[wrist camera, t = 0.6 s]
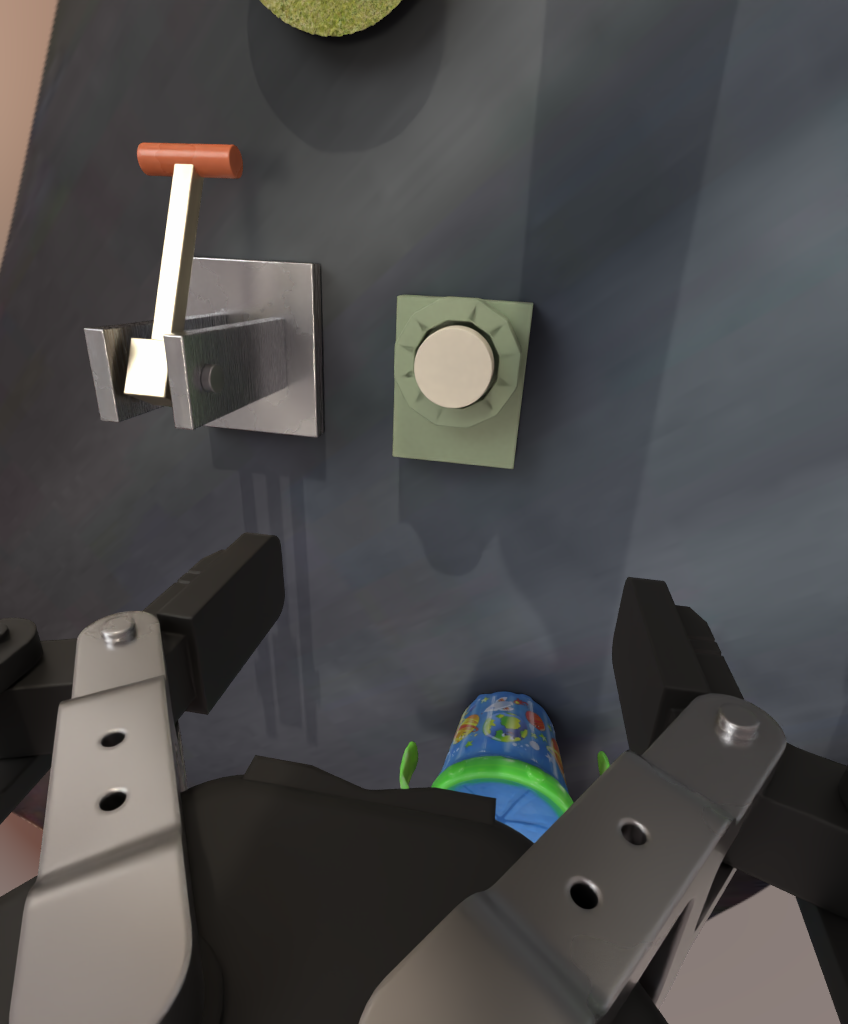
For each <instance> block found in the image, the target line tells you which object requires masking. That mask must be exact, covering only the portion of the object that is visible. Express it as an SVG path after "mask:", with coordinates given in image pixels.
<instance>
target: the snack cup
mask: <svg viewBox="0 0 848 1024" xmlns="http://www.w3.org/2000/svg"><path fill="white" fill-rule="evenodd" d="M417 762H418V751H417V746H416V743H415V742H410V743H409V745H408V746H407V747H406V749H405V752H404V754H403V758H402V762H401V768H400V786H401V789H407V788H409V786H408V784H409V782H410V779H411V776H412V774H413V772H414V770H415V768H416V766H417ZM609 766H610V764H609V761H608V758H607V756H606V754H605V753H604V752H603V751H600V752H599V753H598V767H599V772H600V776H601V775H602V774H603V773H604V772H605V771H606V770H607V769H608V767H609ZM431 787H436V788H441V789H447V790H452V791H458V792H464V793H469V794H475V795H480V796H486V797H492V798H496V811H495V820H497V821H499V822H501V823H504V824H506V825H508V826H509V827H511V828H513V829H515V830H516V831H518V832H520V833H521V834H523V835H524V836H525V837H527V838H528V839H529V840H531V841H532V842H533V843H535V842H536V841H537V840H538V839H539V838H540V837H541V836H542V835H543V834H544V833H545V832H546V831H547V830H548V829H549V828H550V827H551V826H552V825H553V824H554V823H555V822H556V821H557V820H558V819H559V818H560V817H561V816H562V815H563V814H564V812H565V811H566V810H567V809H568V808H569V807H570V806H571V805H572V804H573V803H574V802H573V801H572V799H571V797H570V796H569V793H568V789H567V784H566V780H565V776H564V771H563V766H562V761H561V757H560V753H559V748H558V745H557V742H556V738H555V731H554V727H553V725H552V723H551V721H550V718H549V717H548V715H547V713H546V712H545V710H544V709H543V708H542V707H541V706H540V705H539V704H537V703H536V702H534V701H533V700H532V698H531V697H530V696H527V695H525V694H515V693H513V692H507V691H504V692H495V693H492V694H480V695H479V696H478V697H477V698H476V699H475V701H474V702H473V703H472V704H470V705H469V706H468V708H467V709H466V710H465V712H464V713H463V715H462V718H461V720H460V723H459V726H458V728H457V731H456V733H455V736H454V739H453V741H452V744H451V747H450V749H449V752H448V754H447V757H446V760H445V763H444V766H443V768H442V771H441V772H440V774H439V775H438V777H437V778H436V780H435V781H434V783H433V784H432V786H431Z"/></svg>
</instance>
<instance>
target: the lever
mask: <svg viewBox="0 0 848 1024" xmlns="http://www.w3.org/2000/svg"><path fill="white" fill-rule="evenodd" d="M137 157H138V162H139V165H140V167H141V169H142V170H143V172H144V173H145V174H147V175H149V176H173V178H172V186H171V193H170V201H169V208H168V216H167V223H166V231H165V238H164V246H163V253H162V261H161V268H160V276H159V284H158V291H157V299H156V306H155V314H154V321H153V329H152V336H151V339H143V338H131V342H130V350H129V357H128V365H127V372H126V380H125V387H124V394H125V395H128V396H131V397H134V398H136V399H139V400H142V401H144V402H147V403H150V404H153V405H159V406H169V407H172V400H171V392H170V385H169V377H168V370H167V362H166V354H165V347H164V339H163V335H164V334H170V333H176V332H182V331H184V324H185V317H186V309H187V301H188V294H189V286H190V279H191V271H192V263H193V256H194V248H195V241H196V233H197V225H198V218H199V210H200V203H201V195H202V187H203V180H204V178H234V179H238V178H240V177H241V175H242V172H243V161H242V156H241V153H240V151H239V149H238V148H237V147H236V146H235V145H223V144H181V143H141V144H140V145H139V146H138V149H137Z"/></svg>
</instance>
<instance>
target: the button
mask: <svg viewBox="0 0 848 1024" xmlns="http://www.w3.org/2000/svg"><path fill="white" fill-rule="evenodd" d="M493 371H494V357H493V352H492V350H491V347H490V345H489V343H488V342H487V341H486V339H485V338H484V337H483V336H482V335H481V334H480V333H478V332H477V331H475V330H474V329H471V328H469V327H466V326H460V325H454V326H448V327H444V328H442V329H440V330H438V331H436V332H435V333H433V334H431V335H430V336H429V337H428V338H426V340H425V341H424V342H423V343H422V344H421V346H420V347H419V349H418V351H417V354H416V357H415V362H414V373H415V378H416V382H417V384H418V386H419V388H420V390H421V391H422V393H423V394H424V395H425V396H426V397H427V398H428V399H429V400H430V401H432V402H433V403H435V404H437V405H439V406H442V407H446V408H461V407H465V406H468V405H470V404H472V403H474V402H475V401H477V400H478V399H479V398H480V397H481V396H482V395H483V394H484V392H485V391H486V389H487V388H488V386H489V383H490V381H491V379H492V375H493Z"/></svg>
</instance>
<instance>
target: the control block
mask: <svg viewBox="0 0 848 1024" xmlns="http://www.w3.org/2000/svg"><path fill="white" fill-rule="evenodd" d="M532 311H533V303H531V302H515V301H499V300H483V299H480V298H468V297H452V296H447V297H435V296H419V295H400V296H397V321H396V344H395V358H394V377H395V389H394V423H393V457H403V458H412V459H422V460H431V461H441V462H450V463H459V464H469V465H478V466H488V467H497V468H507V469H513V467H514V459H515V451H516V443H517V434H518V426H519V418H520V410H521V402H522V393H523V385H524V377H525V369H526V360H527V352H528V344H529V336H530V328H531V319H532ZM454 325H460V326H466V327H469V328H471V329H474V330H475V331H477V332H478V333H480V334H481V335H482V336H483V337H484V338H485V339H486V341H487V342H488V343H489V345H490V347H491V350H492V352H493V357H494V371H493V375H492V379H491V381H490V383H489V386H488V388H487V389H486V391H485V392H484V394H483V395H482V396H481V397H480V398H479V399H478V400H477V401H475V402H474V403H472V404H470V405H468V406H465V407H461V408H446V407H442V406H439V405H437V404H435V403H433V402H432V401H430V400H429V399H428V398H427V397H426V396H425V395H424V394H423V393H422V391H421V390H420V388H419V386H418V384H417V382H416V378H415V373H414V362H415V357H416V354H417V351H418V349H419V347H420V346H421V344H422V343H423V342H424V341H425V340H426V338H428V337H429V336H430V335H431V334H433V333H435V332H436V331H438V330H440V329H442V328H444V327H448V326H454Z"/></svg>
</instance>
